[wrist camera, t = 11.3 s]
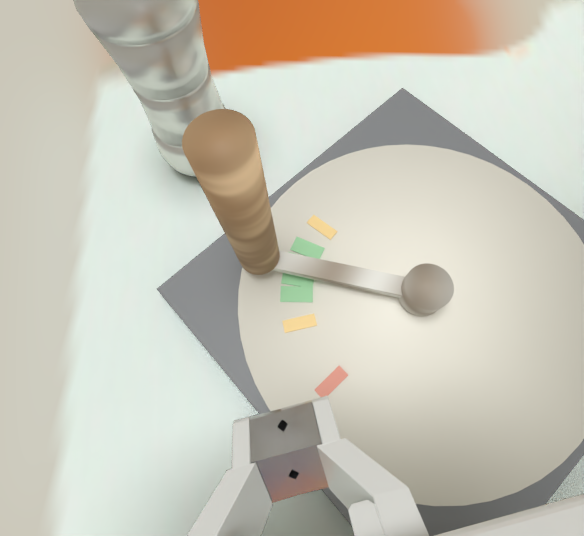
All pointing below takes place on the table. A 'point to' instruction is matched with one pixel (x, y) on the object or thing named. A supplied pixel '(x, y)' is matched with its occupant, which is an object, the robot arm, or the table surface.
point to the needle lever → (259, 222)
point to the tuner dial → (415, 316)
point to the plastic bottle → (158, 63)
